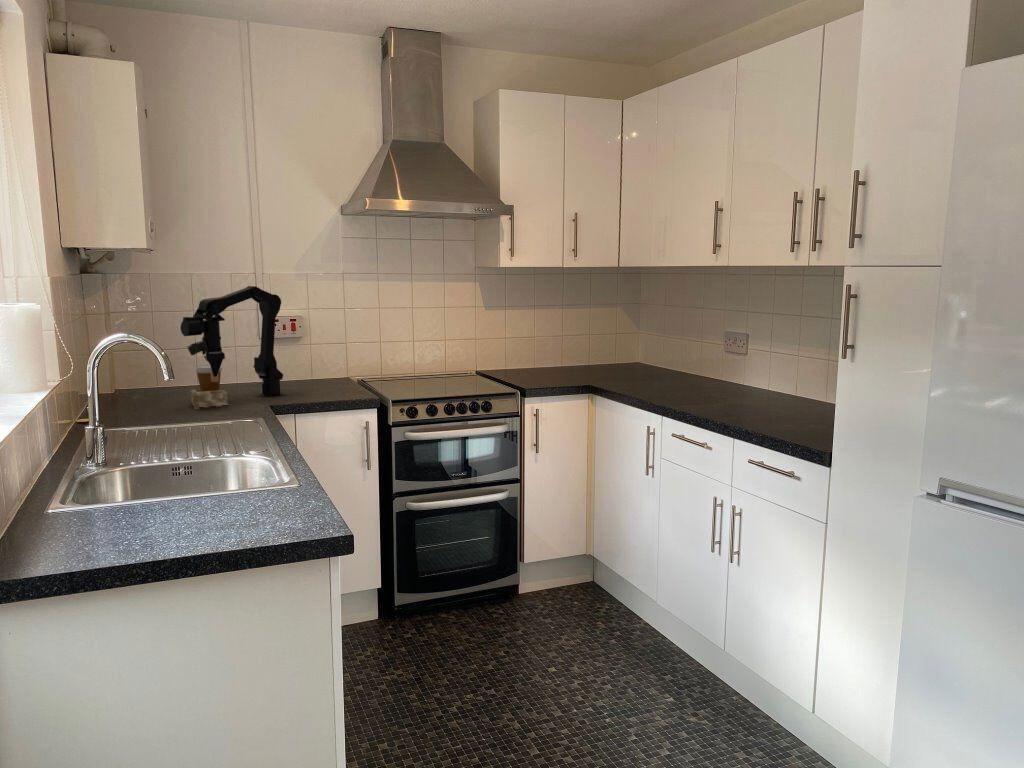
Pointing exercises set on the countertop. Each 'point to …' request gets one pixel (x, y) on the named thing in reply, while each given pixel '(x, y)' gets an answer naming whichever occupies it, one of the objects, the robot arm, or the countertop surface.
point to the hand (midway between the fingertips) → (214, 375)
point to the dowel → (213, 379)
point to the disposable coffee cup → (207, 378)
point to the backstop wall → (195, 399)
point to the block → (212, 398)
